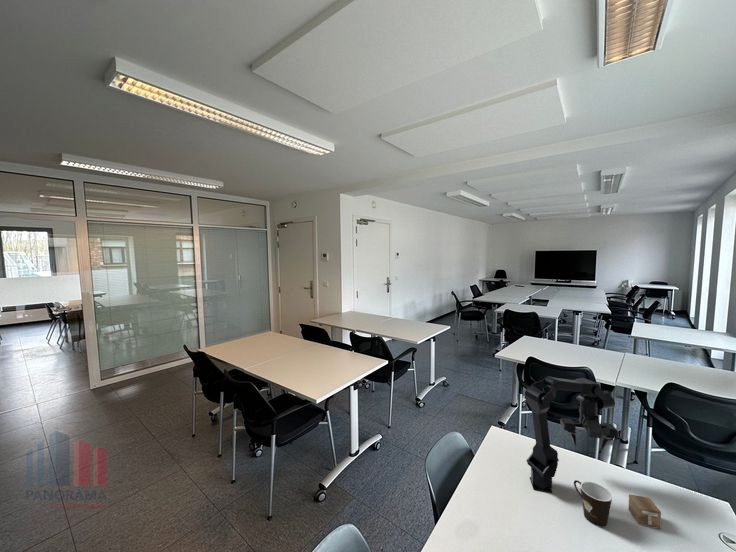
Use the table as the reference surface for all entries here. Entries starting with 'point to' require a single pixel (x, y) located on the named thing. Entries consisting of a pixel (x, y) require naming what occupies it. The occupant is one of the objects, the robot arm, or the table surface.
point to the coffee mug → (595, 502)
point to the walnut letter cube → (644, 511)
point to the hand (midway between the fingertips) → (587, 447)
